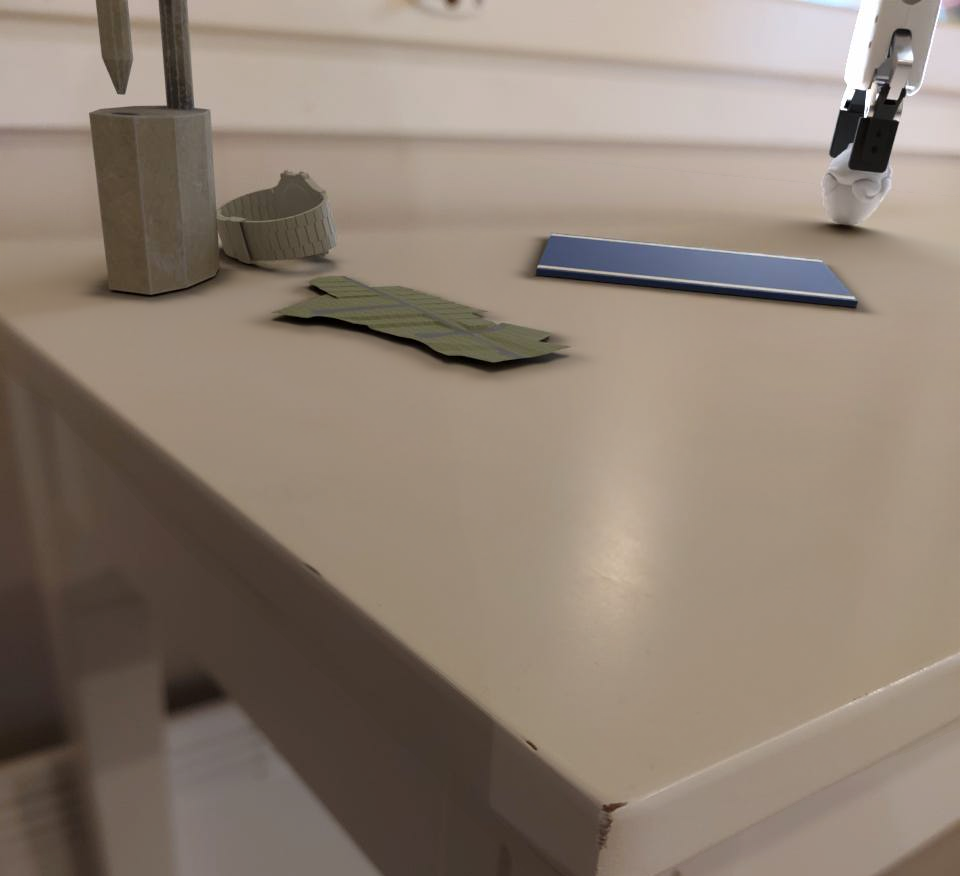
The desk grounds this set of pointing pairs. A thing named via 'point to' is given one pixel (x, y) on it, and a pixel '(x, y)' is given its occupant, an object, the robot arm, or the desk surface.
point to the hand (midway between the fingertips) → (855, 164)
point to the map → (422, 320)
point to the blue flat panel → (693, 269)
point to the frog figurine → (852, 190)
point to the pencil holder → (154, 165)
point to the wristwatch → (278, 222)
